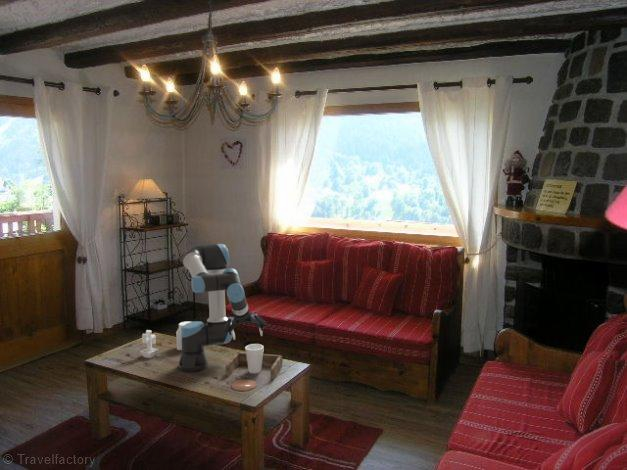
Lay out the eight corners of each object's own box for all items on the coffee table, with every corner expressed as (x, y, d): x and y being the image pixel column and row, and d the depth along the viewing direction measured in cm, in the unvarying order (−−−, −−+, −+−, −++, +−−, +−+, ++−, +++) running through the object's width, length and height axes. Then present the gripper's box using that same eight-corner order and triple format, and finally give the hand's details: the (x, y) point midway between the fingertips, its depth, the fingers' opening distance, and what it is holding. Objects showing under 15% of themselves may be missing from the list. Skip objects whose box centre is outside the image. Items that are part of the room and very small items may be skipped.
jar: (173, 349, 295) (172, 324, 293) (184, 344, 303) (184, 319, 301) (189, 352, 290) (188, 327, 288) (200, 347, 298) (199, 322, 296)
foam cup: (254, 366, 270) (253, 342, 268) (267, 370, 264) (267, 346, 263) (242, 372, 262) (241, 347, 260) (255, 376, 257) (255, 351, 255)
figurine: (160, 354, 286) (159, 328, 284) (149, 360, 278) (148, 333, 276) (150, 352, 289) (148, 327, 287) (138, 358, 280) (137, 332, 278)
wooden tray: (237, 362, 274) (237, 352, 273) (282, 366, 270) (282, 355, 269) (226, 376, 257) (225, 364, 256) (273, 379, 252) (273, 368, 252)
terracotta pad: (236, 379, 253) (236, 378, 253) (259, 381, 251) (259, 380, 250) (228, 389, 241) (228, 388, 241) (252, 391, 239) (252, 390, 239)
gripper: (213, 319, 233) (222, 345, 248) (267, 312, 233) (273, 338, 248) (214, 306, 238) (223, 332, 253) (266, 300, 239) (272, 326, 254)
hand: (247, 335), depth 251 cm, fingers open, 13 cm apart
